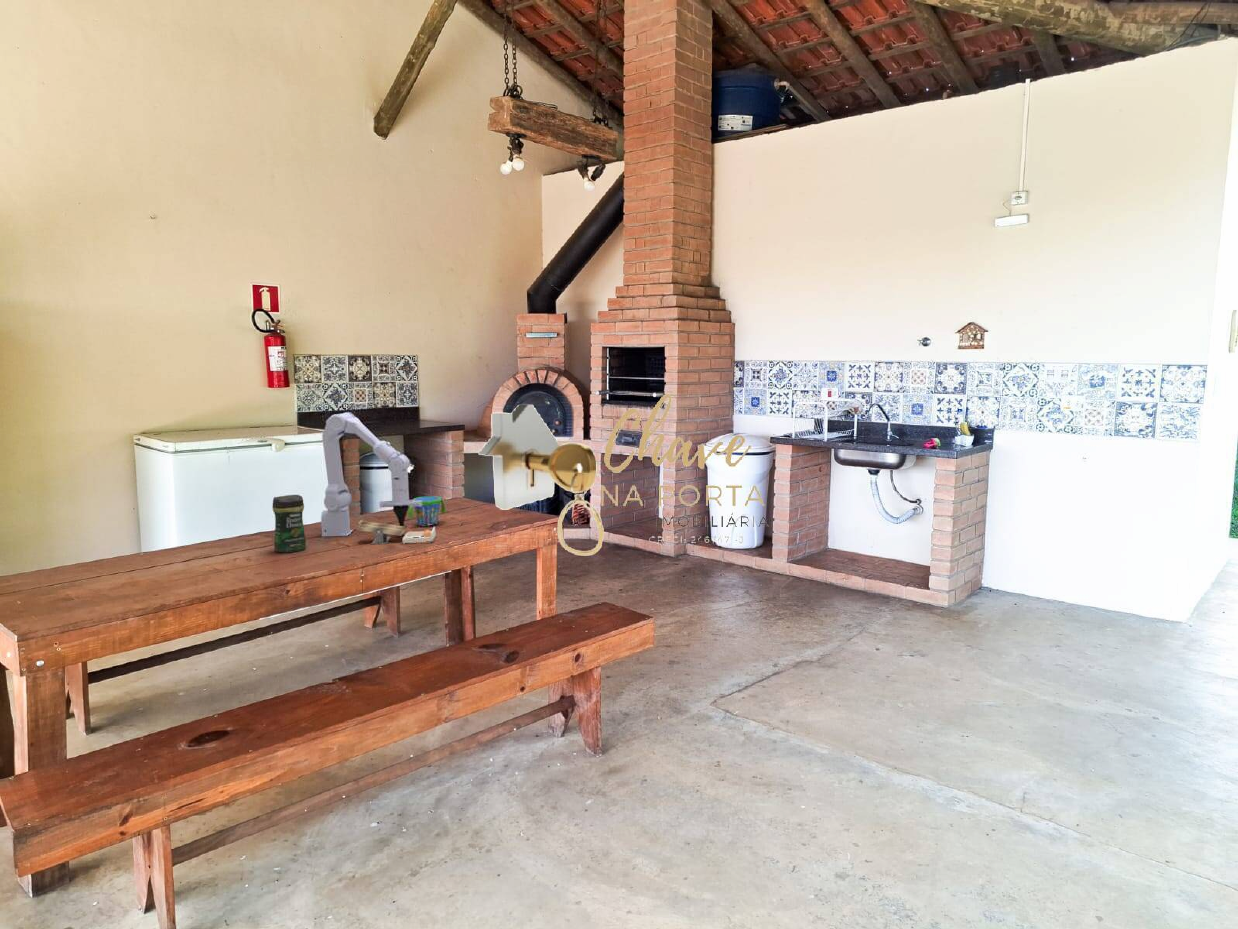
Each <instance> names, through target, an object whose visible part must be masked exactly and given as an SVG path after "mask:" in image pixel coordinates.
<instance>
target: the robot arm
mask: <svg viewBox="0 0 1238 929" xmlns="http://www.w3.org/2000/svg"><path fill="white" fill-rule="evenodd" d="M346 433H347V434H354V435H356V436H358V437H359V438H360V439H361V440H363V441H364V442H365V443H366V444H368V445H369V446H370V447H372V452H373V454H374V455H376V456H377V457H378V458H379V459H380V460H381V461H383V463H385V464H386V465H387V467H388V468H387V469H388V470H389V471H390V474H391V475H390V476H391V477H390V478H391V479H390V480H391V498H392V499H391V500H386V501H385V500H383V501H381V500H380V502H379V508H381V509H382V508H393V509H392V510H393V513H394V514H395V516H396V519H397V520H398V525H400V526H403V527H404V525H405V520H406V516H407V514H408V512H409V508H410V506H418V507H421V506H422V500H413V499H410V493H409V492H410V491H409V473H408V472H409V470H408V469H409V467H410V464H411V461H410V459H409V457H408V456H407V455H405V454H403V453H401V452H400V451H397V450H396V449H395V448H394V447H392V445H391V442H389V441H386V440H380V439H379V438H377V437H376V436H375V435H374V433H372V431H370V429H368V428H367V427H366V426H365V425H364V424H363V423H362V422H361V420H360V419H359V418H358V417H357V416H355V415H354V413H352V412H349V411H348V412H343V413H337V414H336V413H335V414H332V415H331V416H329V417H328V419H326V420H325V426H324V428H323V432H322V436H321V437H322V438H321V439H322V446H323V453H324V455H323V456H324V461H325V469H326V476H327V487H326V489H325V491H324V492H325V497H324V499H323V504H324V507H325V508H326V509H327V510H326V509H325V510H322V511H321V516H320V523H321V537H348V535H349V534H350V535H351V534H352V533H353V532H352V531H354V530H353V529H351V524H350V506H349V505H351V503H352V499H353V498H352V494H351V493H350V492H349V486H348V485H347V483H345V481H344V480H345V479H344V474H343V464H342V458H341V456H342V455H341V449H340V438H342V436H344V434H346ZM351 532H352V533H351ZM350 535H349V536H350Z"/></svg>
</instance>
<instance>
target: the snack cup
mask: <svg viewBox="0 0 1238 929" xmlns="http://www.w3.org/2000/svg"><path fill="white" fill-rule="evenodd" d="M412 500H422V506H421V507H418V506H409V508H408V517H409V519H410V520H414V511H415V519H416V522H417V523H416V524H417V525H418V524H420V525H428V524H436V523H437V522H439V516H440V513H441V514H443V515H445V513H446V504H445V501H444V500H443V499H442V498H441V497H439V496H418V497H415V498H413V499H412ZM440 505H441V506H440ZM440 507H441V508H440ZM437 524H438V523H437Z"/></svg>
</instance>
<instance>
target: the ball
mask: <svg viewBox="0 0 1238 929" xmlns="http://www.w3.org/2000/svg"><path fill="white" fill-rule="evenodd" d="M431 531H432V530H430V529H429V530H428V529H426V530H424V533H423V536H424V537H431V534H430V533H431Z"/></svg>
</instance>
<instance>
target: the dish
mask: <svg viewBox="0 0 1238 929" xmlns="http://www.w3.org/2000/svg"><path fill="white" fill-rule="evenodd" d="M424 531H425V530H424ZM424 531H422V530H421V531H419V530H418V531H407V532H405V534H404V536H403V537H402V545H406V544H405V543H416V542H417V543H418V542H426V541H433V539H434V540H435V538H436V526H433V528H432V529H431V530H430V531H431V533H430V534H431V537H421V536H422V535H423V533H424ZM413 537H419V538H413ZM434 537H435V538H434ZM433 542H434V541H433ZM418 544H419V543H418Z"/></svg>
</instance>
